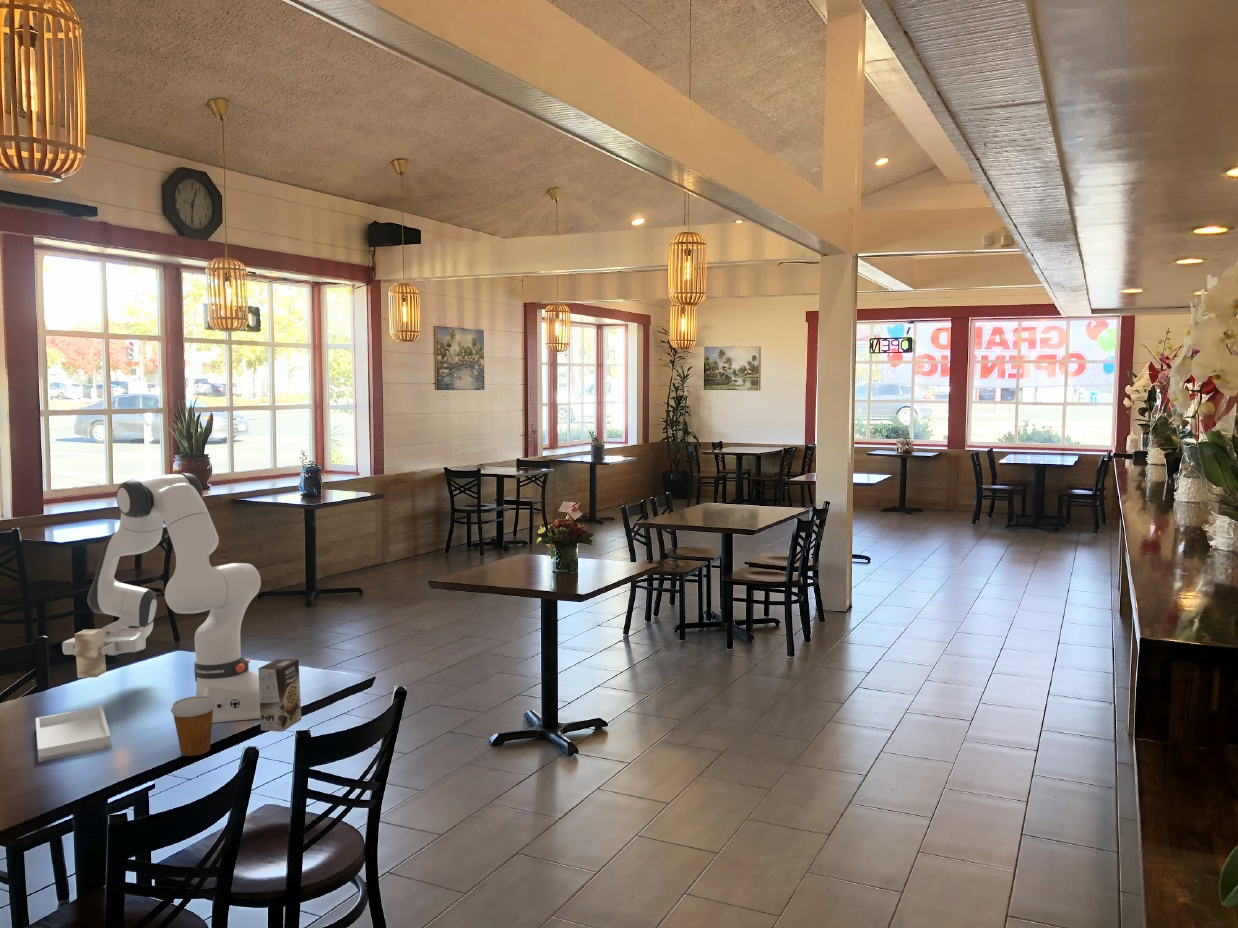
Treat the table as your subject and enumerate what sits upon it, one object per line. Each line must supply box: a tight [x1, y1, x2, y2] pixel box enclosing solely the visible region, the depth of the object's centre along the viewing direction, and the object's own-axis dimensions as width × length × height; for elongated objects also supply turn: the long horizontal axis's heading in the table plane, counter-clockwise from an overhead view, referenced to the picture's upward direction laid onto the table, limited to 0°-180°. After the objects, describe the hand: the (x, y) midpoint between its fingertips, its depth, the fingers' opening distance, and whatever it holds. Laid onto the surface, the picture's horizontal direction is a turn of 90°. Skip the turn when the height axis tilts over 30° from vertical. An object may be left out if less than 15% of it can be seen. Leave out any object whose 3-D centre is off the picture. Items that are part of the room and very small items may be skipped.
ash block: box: [73, 628, 107, 679], centre depth 256 cm, size 5×5×12 cm
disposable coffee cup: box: [170, 695, 215, 757], centre depth 223 cm, size 10×10×12 cm
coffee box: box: [257, 658, 302, 733], centre depth 239 cm, size 9×6×16 cm
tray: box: [35, 706, 112, 763], centre depth 234 cm, size 26×15×3 cm, turn 33°
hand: (88, 652), depth 255 cm, fingers closed on ash block, 5 cm apart
